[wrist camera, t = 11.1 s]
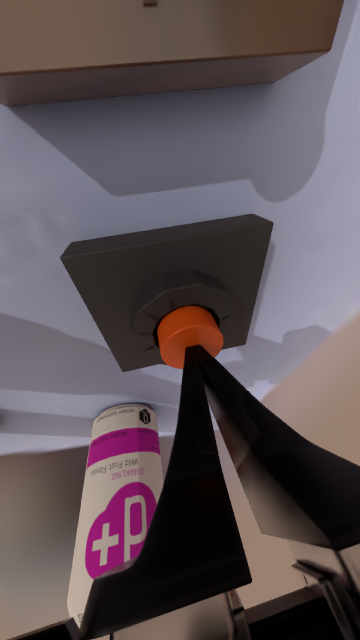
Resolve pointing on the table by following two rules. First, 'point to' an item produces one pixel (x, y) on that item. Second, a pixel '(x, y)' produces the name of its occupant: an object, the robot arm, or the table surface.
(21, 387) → the table surface
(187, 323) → the power button
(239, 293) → the push button box
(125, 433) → the supplement can
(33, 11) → the dial panel
